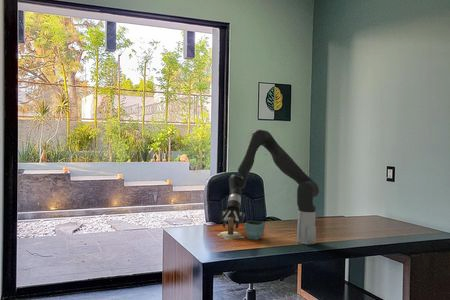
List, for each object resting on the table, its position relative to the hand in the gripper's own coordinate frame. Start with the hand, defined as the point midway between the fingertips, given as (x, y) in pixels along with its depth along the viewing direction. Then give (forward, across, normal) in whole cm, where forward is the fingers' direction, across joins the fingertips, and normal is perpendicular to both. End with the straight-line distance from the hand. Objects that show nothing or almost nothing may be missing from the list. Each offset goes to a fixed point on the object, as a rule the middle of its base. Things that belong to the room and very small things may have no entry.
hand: (230, 227), depth 214 cm
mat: (+3, 0, +5) cm, 6 cm away
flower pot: (+4, +13, +4) cm, 15 cm away
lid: (+2, 0, +5) cm, 5 cm away
